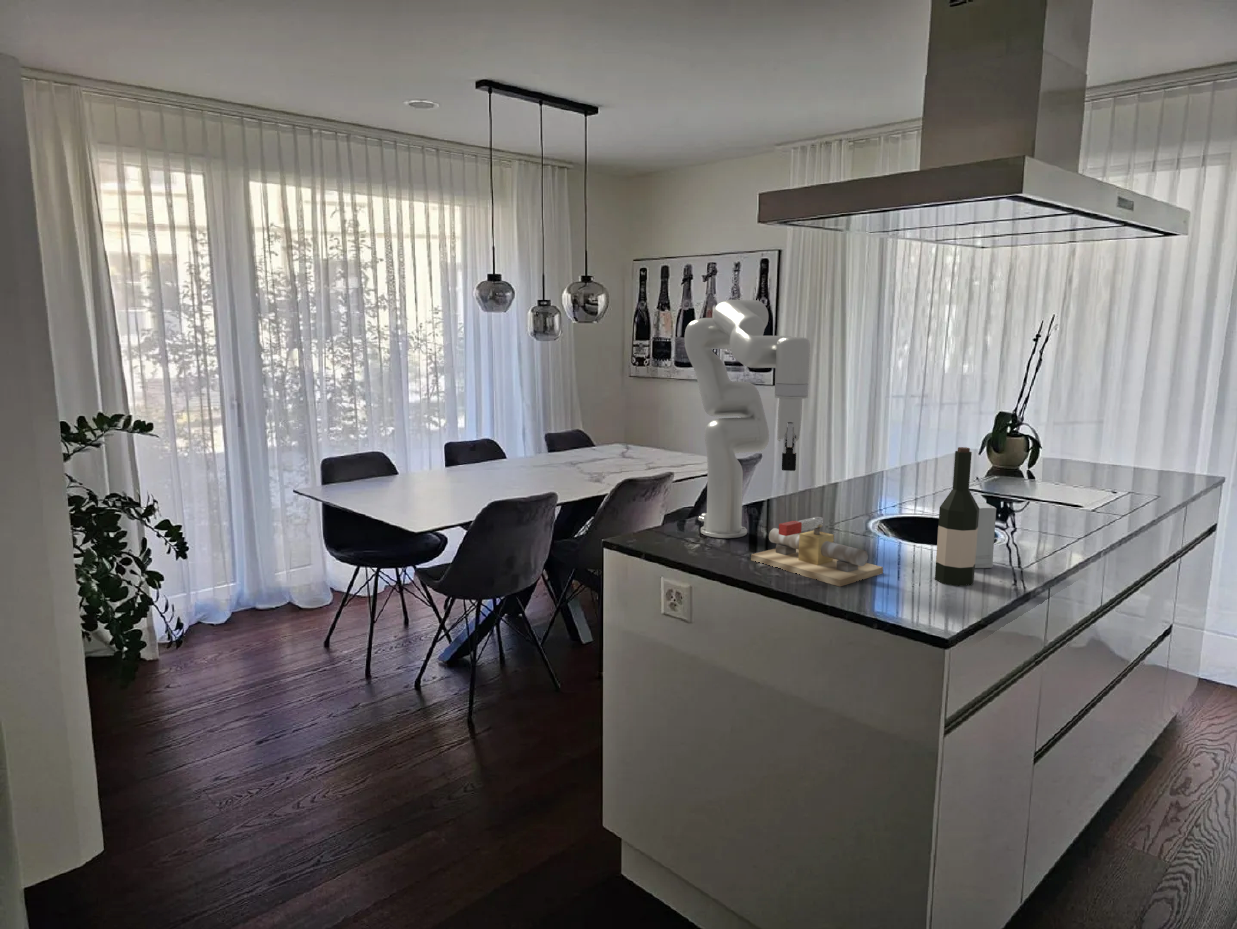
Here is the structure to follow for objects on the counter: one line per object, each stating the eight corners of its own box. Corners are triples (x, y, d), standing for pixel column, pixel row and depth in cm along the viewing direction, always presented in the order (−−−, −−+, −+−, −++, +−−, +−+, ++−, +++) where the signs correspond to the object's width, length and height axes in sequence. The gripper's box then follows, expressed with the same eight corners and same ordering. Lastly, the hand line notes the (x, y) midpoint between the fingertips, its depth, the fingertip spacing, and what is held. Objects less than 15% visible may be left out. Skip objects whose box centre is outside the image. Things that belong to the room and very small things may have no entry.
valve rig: (751, 560, 201) (752, 522, 200) (794, 549, 211) (795, 513, 209) (839, 586, 181) (841, 544, 179) (882, 573, 191) (885, 533, 189)
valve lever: (778, 533, 188) (778, 523, 188) (815, 525, 196) (816, 515, 196) (786, 536, 186) (787, 525, 186) (824, 527, 194) (825, 517, 194)
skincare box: (981, 561, 201) (985, 501, 198) (993, 569, 195) (998, 507, 192) (947, 562, 200) (951, 502, 198) (958, 569, 194) (963, 507, 192)
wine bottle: (960, 588, 180) (970, 451, 175) (926, 579, 187) (935, 447, 182) (981, 581, 185) (992, 448, 180) (948, 573, 191) (957, 444, 186)
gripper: (775, 388, 199) (773, 464, 201) (774, 393, 184) (771, 475, 187) (807, 389, 197) (804, 465, 200) (808, 394, 183) (805, 476, 186)
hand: (788, 469), depth 194 cm, fingers closed
